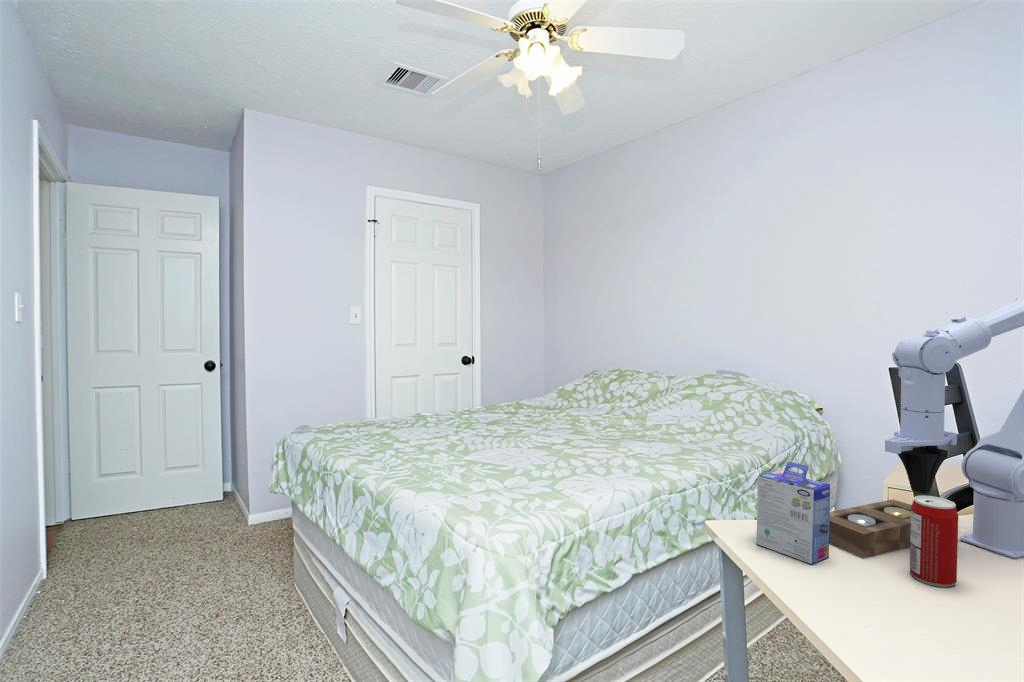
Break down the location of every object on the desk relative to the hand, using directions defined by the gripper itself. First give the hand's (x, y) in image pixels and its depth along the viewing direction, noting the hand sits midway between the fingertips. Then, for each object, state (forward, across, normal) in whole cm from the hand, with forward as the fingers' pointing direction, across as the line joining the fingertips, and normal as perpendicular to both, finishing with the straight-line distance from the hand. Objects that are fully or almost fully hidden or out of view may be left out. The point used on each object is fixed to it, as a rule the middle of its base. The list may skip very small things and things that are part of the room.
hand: (920, 491), depth 89 cm
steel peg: (+9, +5, -6) cm, 13 cm away
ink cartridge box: (+10, +19, -8) cm, 23 cm away
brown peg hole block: (+10, +1, -6) cm, 12 cm away
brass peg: (+10, -3, -6) cm, 12 cm away
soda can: (+10, +8, +7) cm, 15 cm away
